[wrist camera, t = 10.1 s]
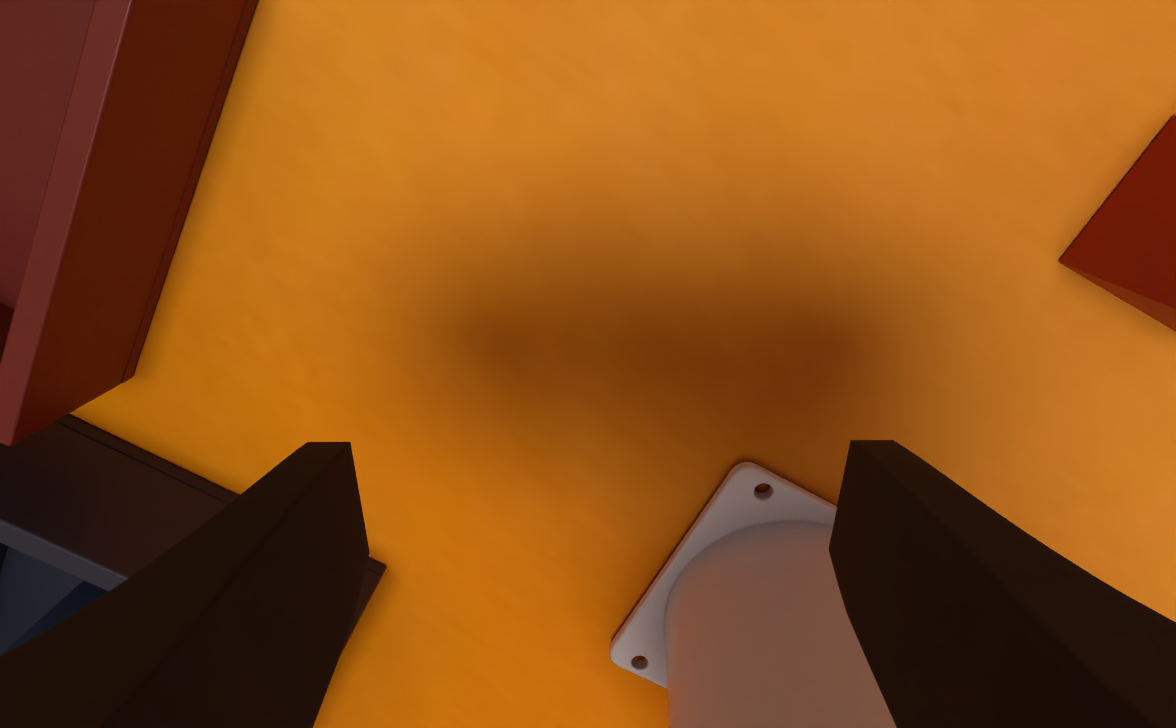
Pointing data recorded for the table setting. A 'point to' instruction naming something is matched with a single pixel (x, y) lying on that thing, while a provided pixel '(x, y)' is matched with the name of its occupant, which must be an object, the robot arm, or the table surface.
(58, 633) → the robot arm
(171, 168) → the red bin
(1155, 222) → the red block
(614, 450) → the table surface
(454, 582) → the table surface
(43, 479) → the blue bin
